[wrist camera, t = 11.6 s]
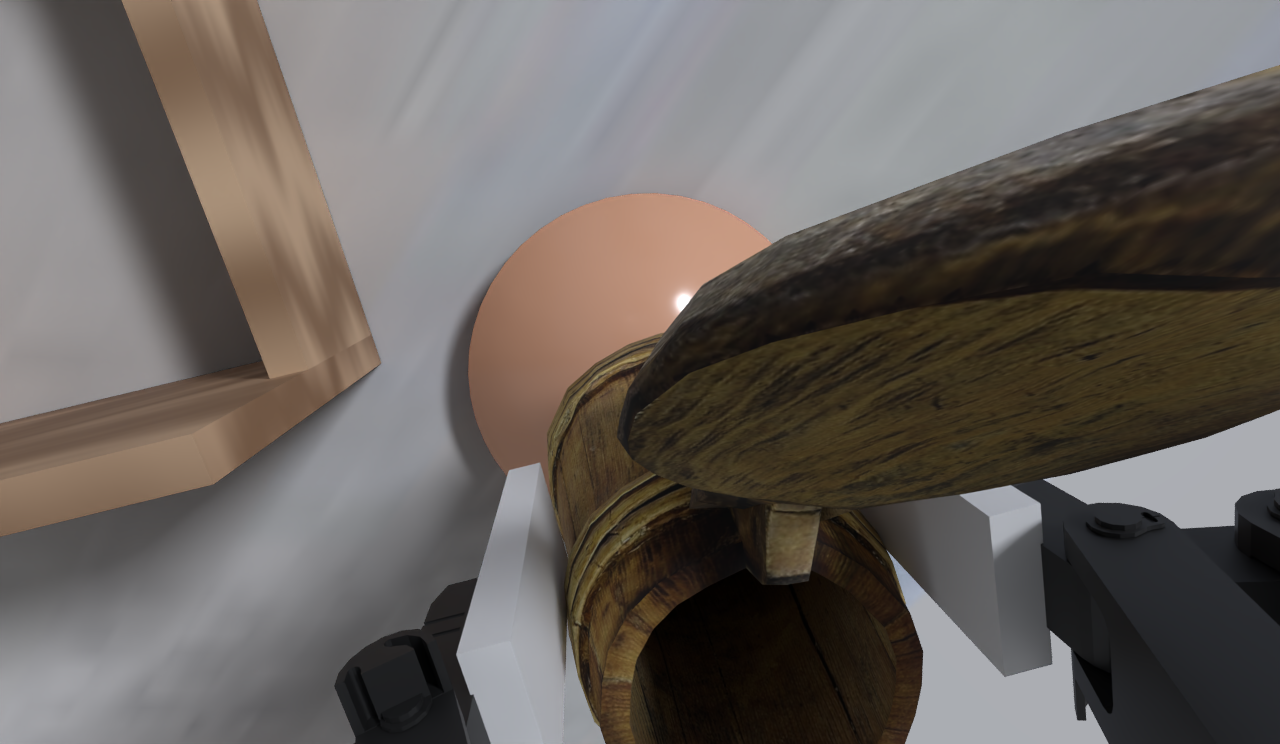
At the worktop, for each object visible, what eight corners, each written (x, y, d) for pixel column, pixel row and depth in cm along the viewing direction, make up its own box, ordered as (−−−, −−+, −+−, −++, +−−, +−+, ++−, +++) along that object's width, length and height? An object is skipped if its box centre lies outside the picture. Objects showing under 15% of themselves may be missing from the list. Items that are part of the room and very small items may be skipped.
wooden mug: (830, 199, 20) (2367, 85, 3) (788, 577, 23) (1394, 1623, 6) (550, 185, 19) (283, -108, 2) (545, 580, 23) (428, 1818, 5)
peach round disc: (429, 240, 24) (420, 241, 23) (777, 158, 25) (790, 154, 24) (526, 554, 28) (523, 573, 27) (830, 477, 28) (843, 491, 27)
